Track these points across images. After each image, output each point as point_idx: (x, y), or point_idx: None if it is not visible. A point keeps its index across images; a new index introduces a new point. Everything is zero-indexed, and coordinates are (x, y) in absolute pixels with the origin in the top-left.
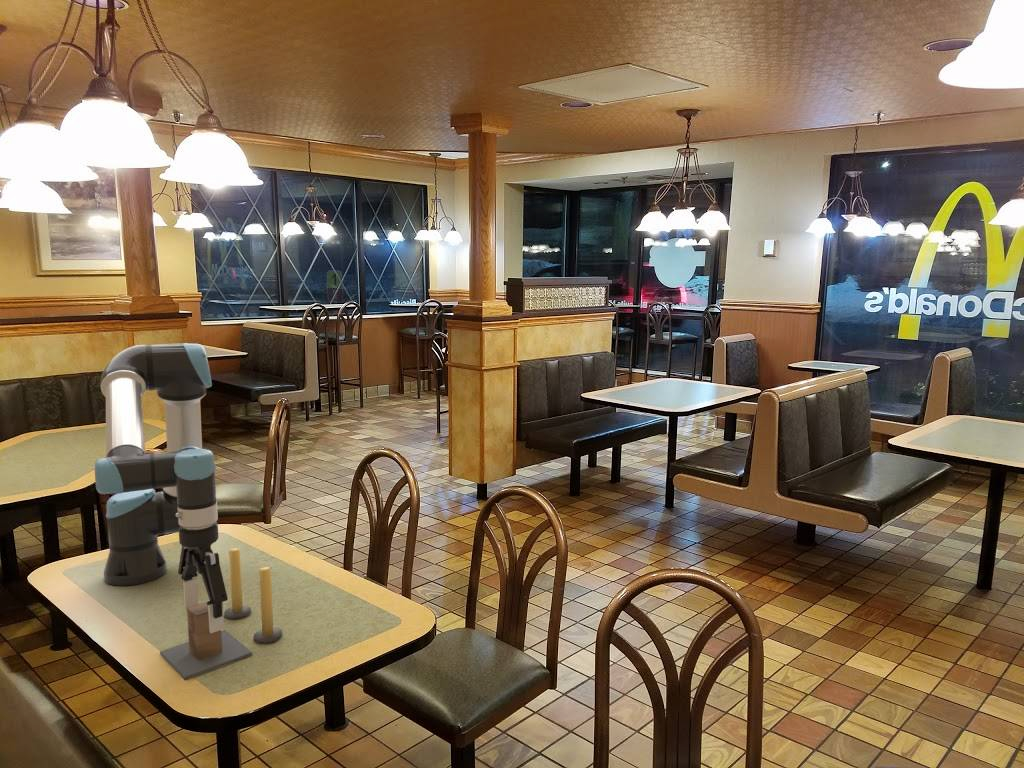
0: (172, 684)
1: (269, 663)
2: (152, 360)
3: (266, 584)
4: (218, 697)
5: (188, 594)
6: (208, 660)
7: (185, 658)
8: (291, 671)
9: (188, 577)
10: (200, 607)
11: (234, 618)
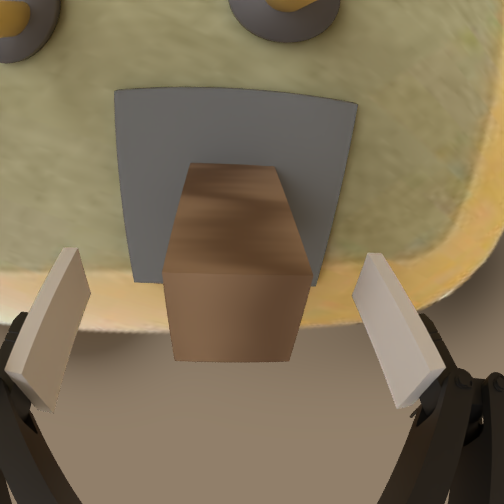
0: (307, 301)
1: (432, 106)
2: None
3: None
4: (431, 259)
5: (65, 340)
6: None
7: None
8: (494, 106)
9: (20, 408)
10: (220, 331)
11: (49, 35)
